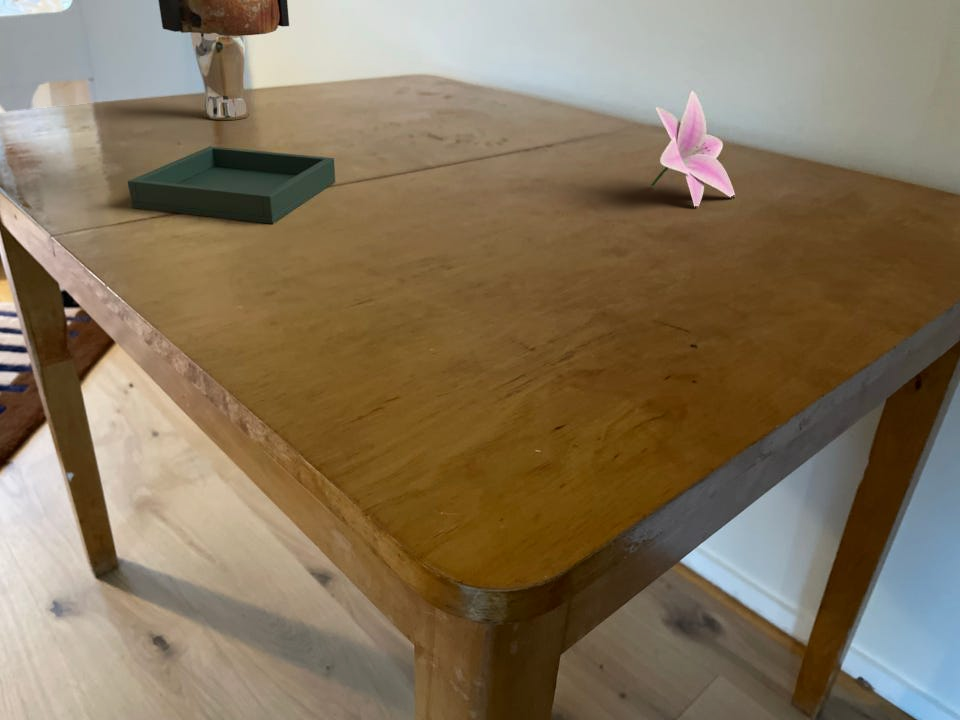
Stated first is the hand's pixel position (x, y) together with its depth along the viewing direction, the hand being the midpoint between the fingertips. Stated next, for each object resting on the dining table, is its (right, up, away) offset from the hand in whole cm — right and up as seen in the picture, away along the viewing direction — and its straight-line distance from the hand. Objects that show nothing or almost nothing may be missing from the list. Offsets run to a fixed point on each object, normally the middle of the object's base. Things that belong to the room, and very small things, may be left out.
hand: (228, 27), depth 75 cm
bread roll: (0, 0, 0) cm, 0 cm away
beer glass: (-12, +3, +36) cm, 38 cm away
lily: (+46, -14, +9) cm, 49 cm away
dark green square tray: (0, -15, +4) cm, 16 cm away
